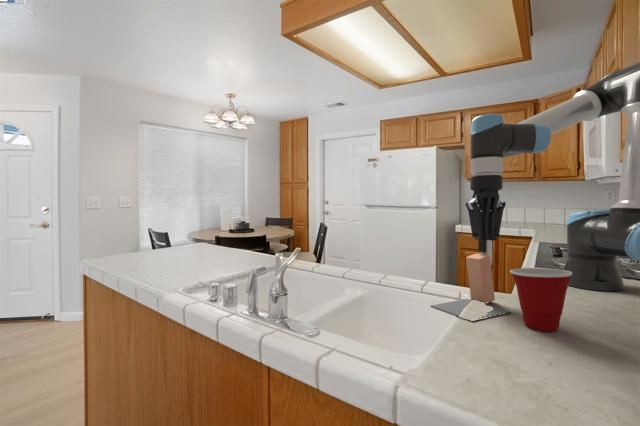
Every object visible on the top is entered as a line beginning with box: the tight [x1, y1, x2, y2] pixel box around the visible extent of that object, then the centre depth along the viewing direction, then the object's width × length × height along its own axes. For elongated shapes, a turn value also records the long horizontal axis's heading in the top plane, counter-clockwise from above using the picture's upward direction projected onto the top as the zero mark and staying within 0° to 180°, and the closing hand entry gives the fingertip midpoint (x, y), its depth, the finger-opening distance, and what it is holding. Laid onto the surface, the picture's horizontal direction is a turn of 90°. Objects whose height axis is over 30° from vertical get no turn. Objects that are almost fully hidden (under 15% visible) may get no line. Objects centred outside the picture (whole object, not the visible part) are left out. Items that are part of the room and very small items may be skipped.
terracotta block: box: [465, 253, 496, 303], centre depth 85 cm, size 4×4×12 cm
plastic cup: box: [509, 267, 572, 333], centre depth 68 cm, size 11×11×12 cm
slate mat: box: [430, 298, 511, 319], centre depth 79 cm, size 13×12×1 cm
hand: (485, 264), depth 86 cm, fingers closed
